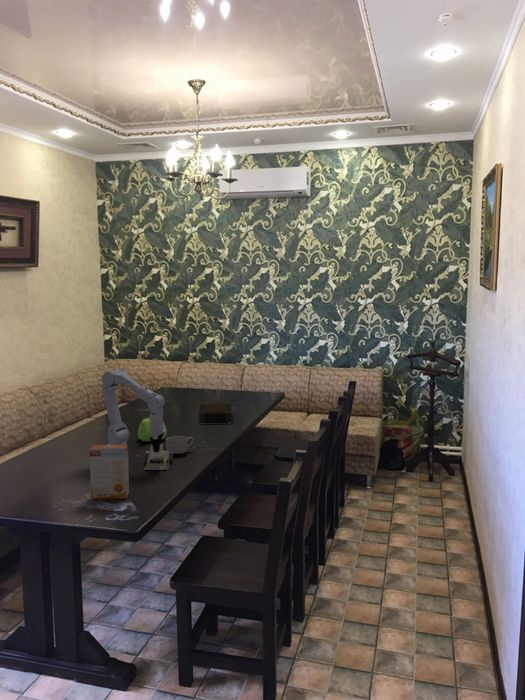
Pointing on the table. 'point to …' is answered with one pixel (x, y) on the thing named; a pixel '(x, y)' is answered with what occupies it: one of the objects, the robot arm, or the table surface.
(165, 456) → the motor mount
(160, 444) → the light grey block
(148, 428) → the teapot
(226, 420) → the cash box
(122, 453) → the cracker box
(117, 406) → the robot arm
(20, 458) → the table surface
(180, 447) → the teacup
